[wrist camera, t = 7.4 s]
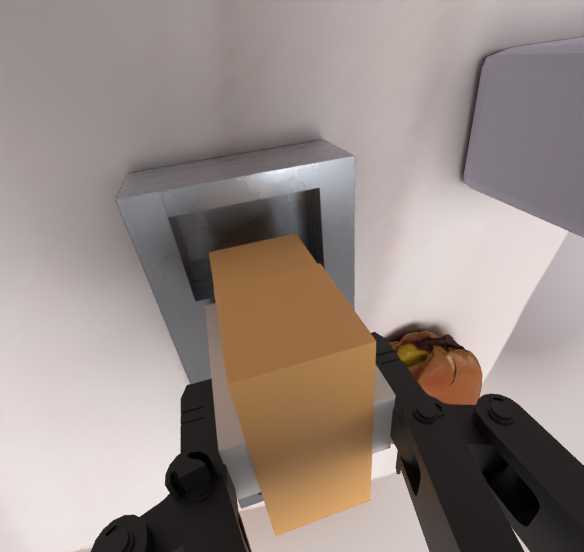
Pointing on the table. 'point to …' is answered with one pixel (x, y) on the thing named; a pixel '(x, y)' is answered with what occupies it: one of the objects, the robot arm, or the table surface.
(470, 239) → the table surface
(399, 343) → the burger
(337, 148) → the grey compartment tray
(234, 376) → the orange bridge block
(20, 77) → the table surface
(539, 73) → the soap bottle
